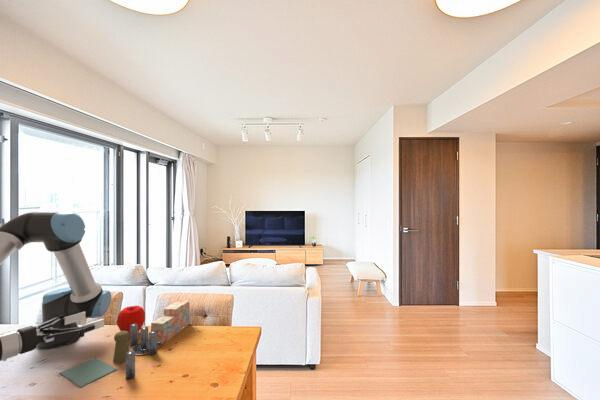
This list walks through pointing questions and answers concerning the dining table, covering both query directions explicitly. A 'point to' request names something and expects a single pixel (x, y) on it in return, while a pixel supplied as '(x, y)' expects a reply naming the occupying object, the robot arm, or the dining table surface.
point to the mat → (87, 372)
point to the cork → (121, 346)
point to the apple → (130, 318)
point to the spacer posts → (144, 345)
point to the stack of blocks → (171, 320)
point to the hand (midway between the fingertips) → (94, 318)
